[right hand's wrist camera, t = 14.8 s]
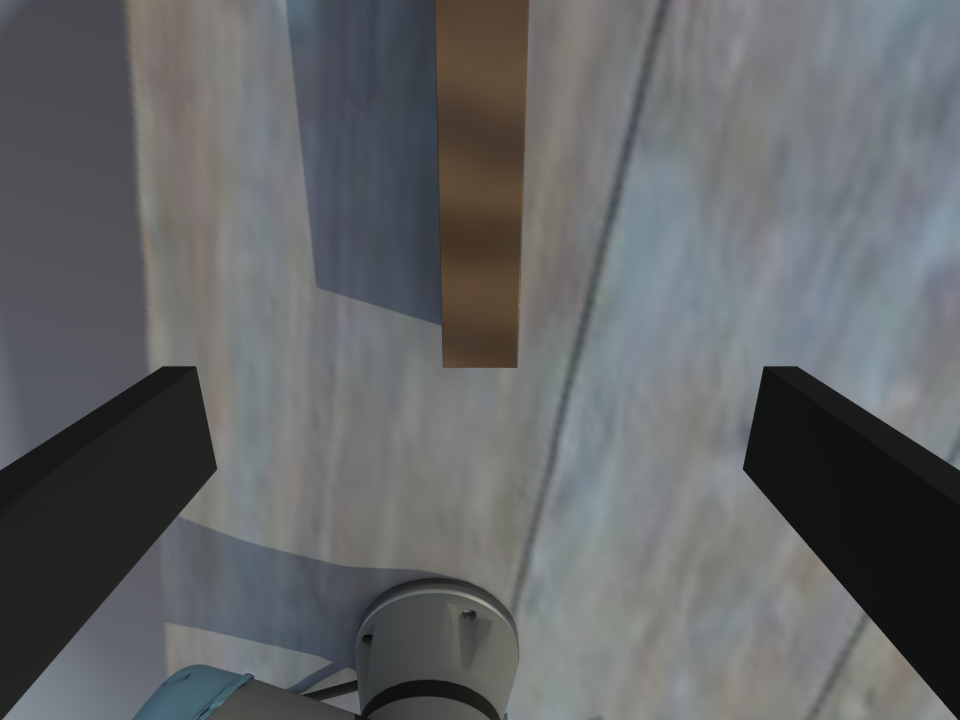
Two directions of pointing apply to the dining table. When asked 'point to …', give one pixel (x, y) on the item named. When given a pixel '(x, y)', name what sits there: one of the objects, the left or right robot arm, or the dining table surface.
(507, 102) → the post
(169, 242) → the dining table surface
